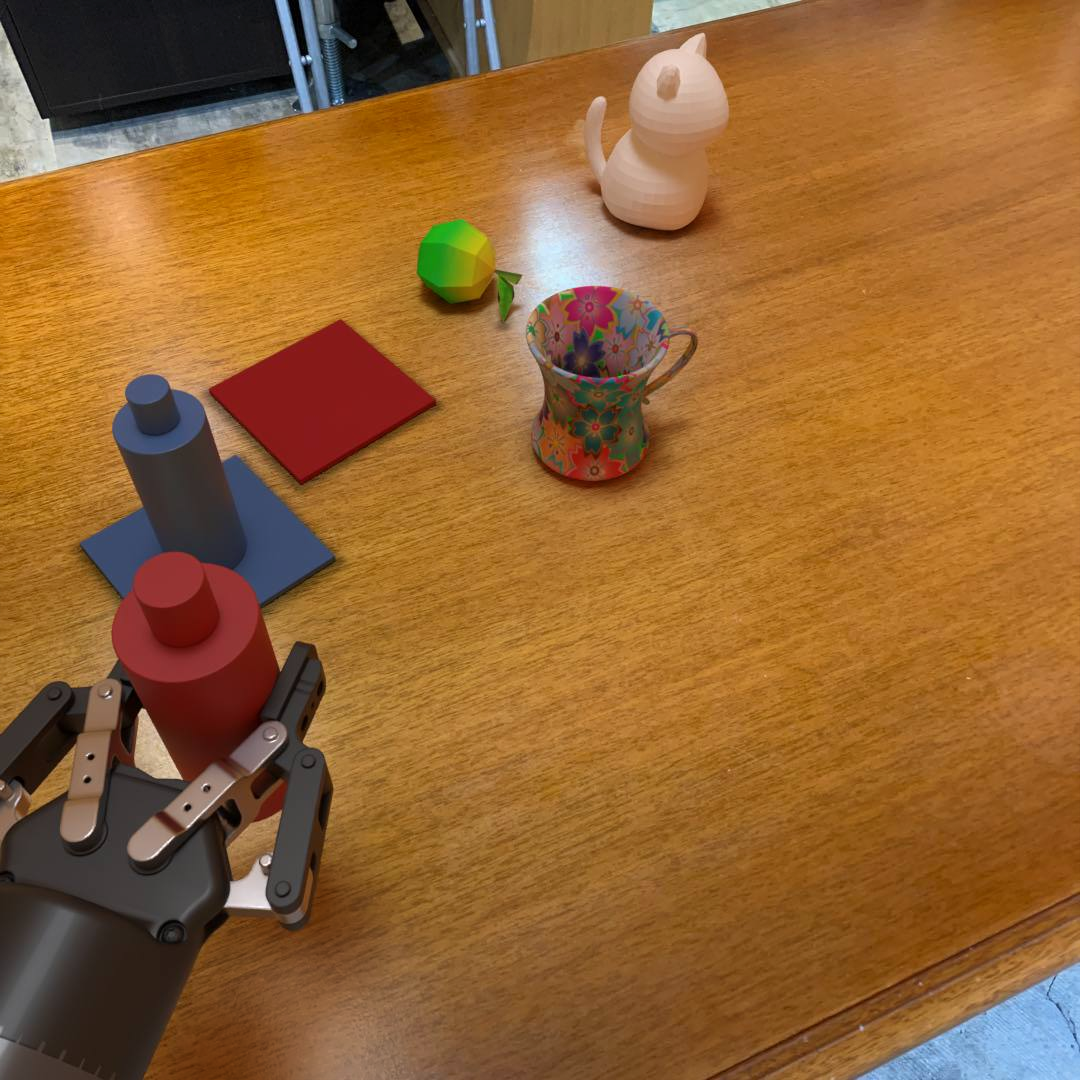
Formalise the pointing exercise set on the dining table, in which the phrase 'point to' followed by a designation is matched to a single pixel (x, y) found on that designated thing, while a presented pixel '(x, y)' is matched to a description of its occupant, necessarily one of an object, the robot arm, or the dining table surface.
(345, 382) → the red mat
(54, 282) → the dining table surface
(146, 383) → the blue bottle
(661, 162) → the cat figurine
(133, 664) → the red bottle
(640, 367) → the mug
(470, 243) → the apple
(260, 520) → the blue mat
